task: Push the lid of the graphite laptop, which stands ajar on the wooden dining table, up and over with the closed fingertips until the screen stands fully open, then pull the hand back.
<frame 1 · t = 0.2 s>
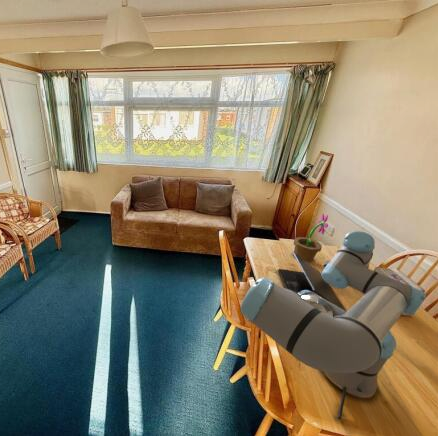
hand: (350, 285, 97), 16 cm above the table, tool tilted 35°, fingers open, 13 cm apart
laptop: (308, 293, 114), on the table
coffee jar: (348, 277, 125), on the table
flowerpot: (302, 257, 142), on the table
laptop screen: (318, 281, 110), point 8 cm above the table, hinge at 35.0°
tea box: (384, 302, 109), on the table
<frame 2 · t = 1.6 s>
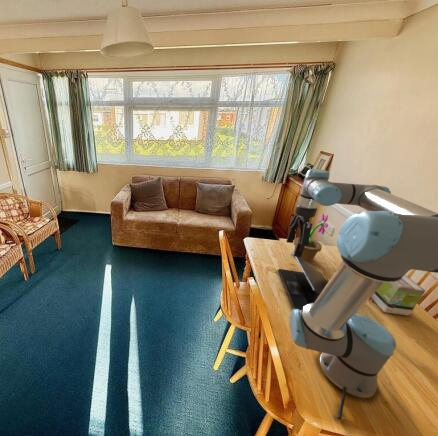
hand: (293, 248, 107), 24 cm above the table, tool pointing down, fingers open, 11 cm apart
nothing on the table moved.
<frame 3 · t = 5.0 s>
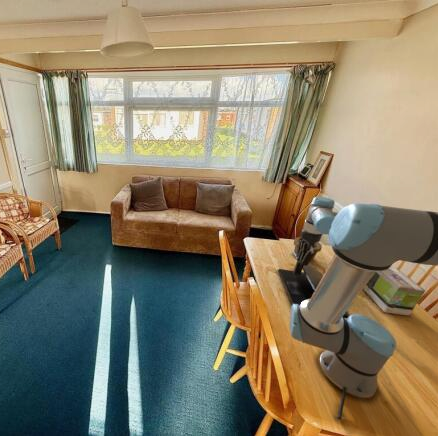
hand: (296, 273, 111), 11 cm above the table, tool pointing down, fingers closed
laptop screen: (318, 281, 110), point 8 cm above the table, hinge at 35.8°, touching gripper
everything else where it was.
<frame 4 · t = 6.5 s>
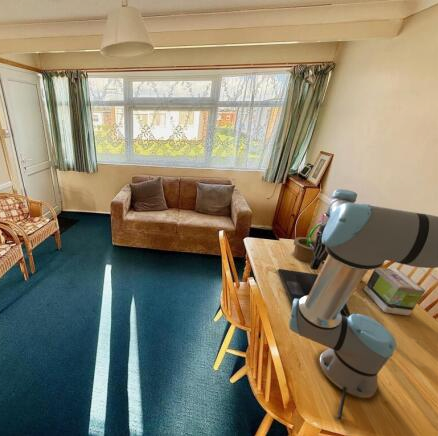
hand: (313, 268, 108), 15 cm above the table, tool pointing down, fingers closed
laptop screen: (328, 277, 108), point 11 cm above the table, hinge at 59.7°, touching gripper
everything else where it was.
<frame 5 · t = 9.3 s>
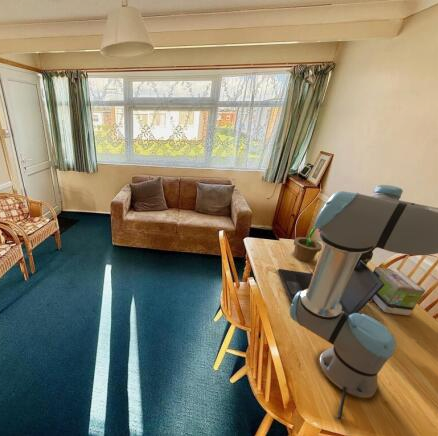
hand: (350, 268, 104), 18 cm above the table, tool pointing down, fingers closed
laptop screen: (347, 278, 106), point 12 cm above the table, hinge at 101.8°, touching gripper
everything else where it was.
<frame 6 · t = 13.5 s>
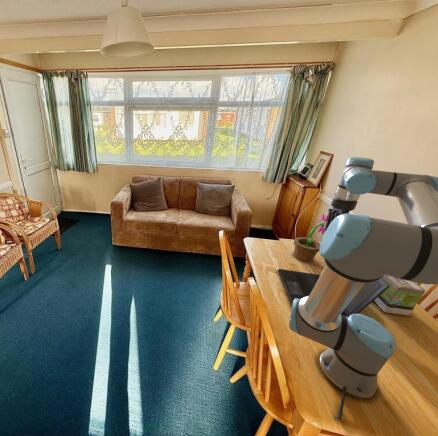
hand: (325, 248, 99), 28 cm above the table, tool pointing down, fingers closed
laptop screen: (349, 279, 106), point 12 cm above the table, hinge at 106.9°
everything else where it was.
at the end: laptop screen at +107° (first picture: +35°) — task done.
